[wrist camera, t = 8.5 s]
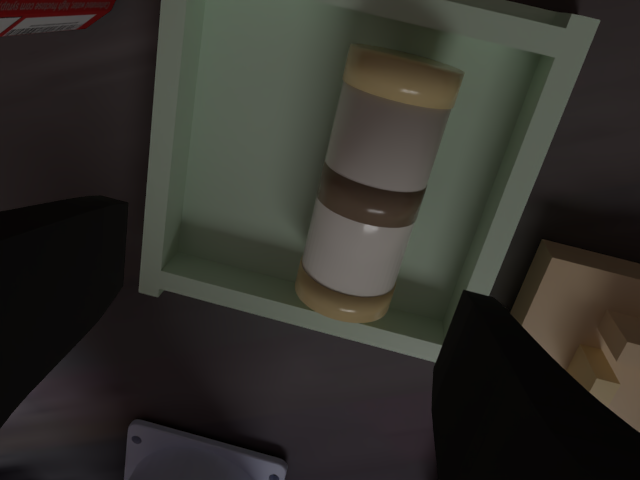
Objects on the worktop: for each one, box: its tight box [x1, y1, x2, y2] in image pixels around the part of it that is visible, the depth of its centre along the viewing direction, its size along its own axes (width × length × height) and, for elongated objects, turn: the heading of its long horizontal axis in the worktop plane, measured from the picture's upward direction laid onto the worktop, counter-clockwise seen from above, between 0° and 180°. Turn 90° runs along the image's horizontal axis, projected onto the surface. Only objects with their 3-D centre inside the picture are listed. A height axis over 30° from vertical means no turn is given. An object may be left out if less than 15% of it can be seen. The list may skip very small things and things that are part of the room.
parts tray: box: [139, 0, 600, 363], centre depth 19 cm, size 13×13×2 cm
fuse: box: [295, 43, 465, 323], centre depth 18 cm, size 8×4×4 cm
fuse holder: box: [510, 239, 640, 432], centre depth 21 cm, size 14×10×4 cm
